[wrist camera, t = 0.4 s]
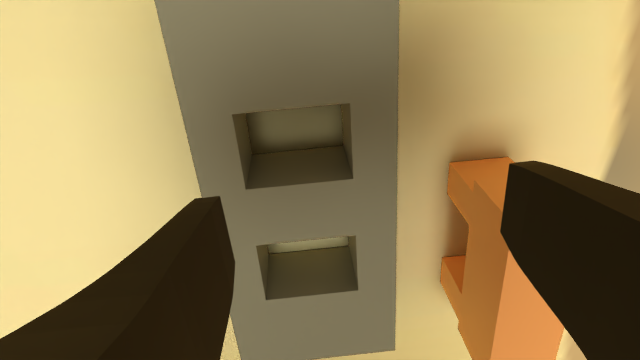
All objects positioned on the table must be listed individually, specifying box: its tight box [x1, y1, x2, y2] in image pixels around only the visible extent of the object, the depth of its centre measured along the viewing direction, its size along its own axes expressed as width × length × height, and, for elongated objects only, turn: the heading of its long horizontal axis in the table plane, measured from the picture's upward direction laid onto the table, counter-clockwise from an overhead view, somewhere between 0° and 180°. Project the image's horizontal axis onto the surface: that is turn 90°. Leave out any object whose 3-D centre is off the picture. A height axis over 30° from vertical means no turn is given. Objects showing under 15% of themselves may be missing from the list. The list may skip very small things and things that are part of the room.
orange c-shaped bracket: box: [440, 157, 564, 360], centre depth 20 cm, size 9×3×6 cm, turn 4°
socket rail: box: [154, 0, 399, 360], centre depth 19 cm, size 18×8×4 cm, turn 4°
